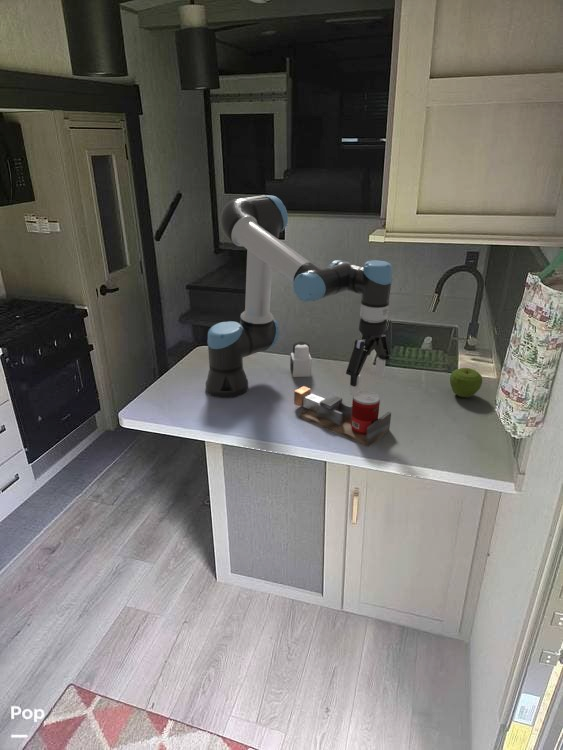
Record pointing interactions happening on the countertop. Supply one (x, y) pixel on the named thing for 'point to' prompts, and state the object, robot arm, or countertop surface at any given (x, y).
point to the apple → (465, 382)
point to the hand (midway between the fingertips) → (366, 386)
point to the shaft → (308, 399)
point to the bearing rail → (345, 421)
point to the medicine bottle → (301, 360)
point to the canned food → (364, 411)
